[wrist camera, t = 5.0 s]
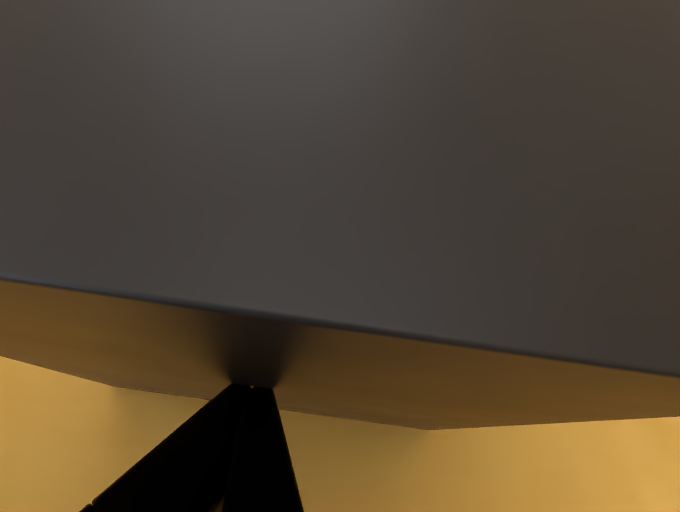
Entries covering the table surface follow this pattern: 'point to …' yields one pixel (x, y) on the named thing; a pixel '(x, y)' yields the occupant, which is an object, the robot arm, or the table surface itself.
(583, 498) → the table surface
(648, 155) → the coffee maker
